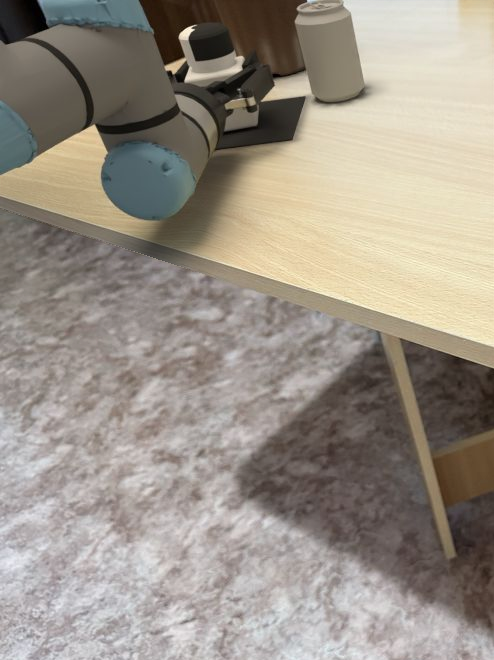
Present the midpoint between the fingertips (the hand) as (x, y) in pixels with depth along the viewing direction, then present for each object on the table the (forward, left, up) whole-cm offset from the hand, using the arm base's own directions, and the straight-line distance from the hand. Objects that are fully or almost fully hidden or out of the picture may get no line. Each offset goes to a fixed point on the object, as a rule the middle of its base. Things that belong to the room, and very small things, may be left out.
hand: (224, 65), depth 92 cm
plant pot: (+3, +20, -7) cm, 21 cm away
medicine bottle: (0, -5, -6) cm, 8 cm away
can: (+14, +2, -7) cm, 16 cm away
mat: (0, -5, -6) cm, 8 cm away
